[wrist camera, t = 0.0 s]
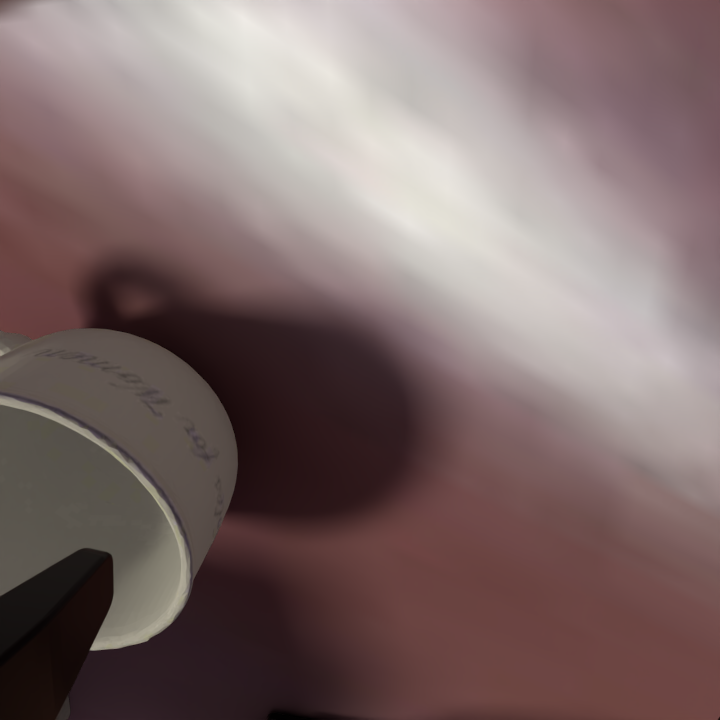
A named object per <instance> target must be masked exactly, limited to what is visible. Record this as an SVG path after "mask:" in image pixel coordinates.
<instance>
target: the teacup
mask: <svg viewBox="0 0 720 720" xmlns="http://www.w3.org/2000/svg"><path fill="white" fill-rule="evenodd" d="M237 469H238V452H237V445H236V440H235V434H234V431H233V428H232V425H231V422H230V420H229V417H228V415H227V413H226V411H225V409H224V407H223V405H222V403H221V402H220V400H219V398H218V397H217V395H216V394H215V393H214V391H213V390H212V389H211V387H210V386H209V385H208V384H207V382H206V381H205V380H204V379H203V378H202V377H201V376H200V375H199V374H198V373H197V372H196V371H195V370H194V369H193V368H191V367H190V366H189V365H188V364H187V363H186V362H184V361H183V360H182V359H180V358H179V357H177V356H176V355H175V354H173V353H172V352H170V351H168V350H167V349H165V348H163V347H161V346H159V345H157V344H155V343H153V342H151V341H149V340H146V339H144V338H141V337H138V336H135V335H132V334H129V333H124V332H119V331H114V330H109V329H96V328H85V329H71V330H64V331H60V332H56V333H53V334H49V335H46V336H43V337H40V338H38V339H35V340H32V339H30V338H29V337H27V336H24V335H22V334H16V333H5V332H3V331H1V330H0V596H1V595H3V594H4V593H6V592H8V591H9V590H11V589H13V588H15V587H16V586H18V585H20V584H21V583H23V582H25V581H26V580H28V579H30V578H31V577H33V576H35V575H37V574H38V573H40V572H42V571H43V570H45V569H47V568H48V567H50V566H52V565H53V564H55V563H57V562H59V561H60V560H62V559H64V558H65V557H67V556H69V555H70V554H72V553H74V552H75V551H77V550H79V549H82V548H92V549H96V550H101V551H105V552H108V553H110V554H111V555H112V557H113V575H114V595H113V600H112V604H111V606H110V609H109V611H108V614H107V616H106V618H105V620H104V622H103V624H102V626H101V628H100V630H99V632H98V634H97V636H96V638H95V640H94V642H93V644H92V647H91V649H90V650H105V649H118V648H122V647H126V646H130V645H135V644H139V643H142V642H146V641H148V640H149V639H150V638H151V637H153V636H155V635H157V634H159V633H160V632H162V631H163V630H164V629H166V628H167V627H168V626H169V625H170V624H171V623H172V622H173V621H174V620H175V619H176V618H177V617H178V616H179V614H180V613H181V611H182V610H183V608H184V607H185V605H186V603H187V601H188V598H189V596H190V593H191V589H192V585H193V580H194V578H195V576H196V574H197V572H198V570H199V568H200V566H201V564H202V562H203V560H204V558H205V557H206V555H207V553H208V551H209V549H210V547H211V545H212V543H213V541H214V539H215V536H216V534H217V532H218V530H219V528H220V526H221V524H222V521H223V519H224V517H225V514H226V512H227V509H228V507H229V504H230V501H231V498H232V495H233V492H234V488H235V484H236V478H237Z"/></svg>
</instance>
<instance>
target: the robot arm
mask: <svg viewBox="0 0 720 720" xmlns="http://www.w3.org/2000/svg"><path fill="white" fill-rule="evenodd" d="M113 595H114V575H113V557H112V555H111V554H110V553H108V552H105V551H101V550H96V549H92V548H82V549H79V550H77V551H75V552H74V553H72V554H70V555H69V556H67V557H65V558H64V559H62V560H60V561H59V562H57V563H55V564H53V565H52V566H50V567H48V568H47V569H45V570H43V571H42V572H40V573H38V574H37V575H35V576H33V577H31V578H30V579H28V580H26V581H25V582H23V583H21V584H20V585H18V586H16V587H15V588H13V589H11V590H9V591H8V592H6V593H4V594H3V595H1V596H0V720H56V718H57V716H58V714H59V712H60V710H61V708H62V706H63V704H64V702H65V700H66V698H67V696H68V694H69V692H70V690H71V688H72V686H73V684H74V682H75V680H76V677H77V675H78V673H79V671H80V669H81V667H82V665H83V663H84V661H85V659H86V657H87V655H88V653H89V651H90V649H91V647H92V644H93V642H94V640H95V638H96V636H97V634H98V632H99V630H100V628H101V626H102V624H103V622H104V620H105V618H106V616H107V614H108V611H109V609H110V606H111V604H112V600H113ZM267 720H306V719H302V718H297V717H293V716H289V715H284V714H280V713H270V714H269V715H268V718H267ZM718 720H720V717H719V719H718Z"/></svg>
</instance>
